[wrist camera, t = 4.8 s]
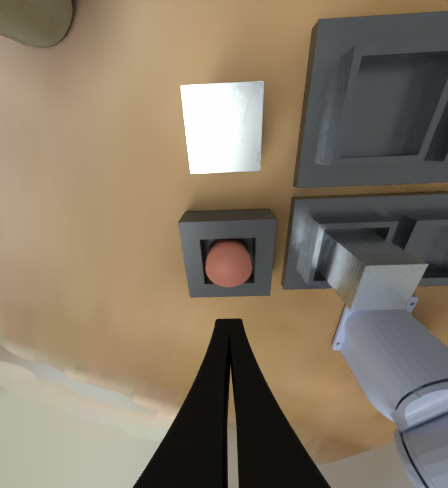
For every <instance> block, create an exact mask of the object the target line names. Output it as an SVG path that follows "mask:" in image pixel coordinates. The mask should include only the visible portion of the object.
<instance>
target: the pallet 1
mask: <svg viewBox="0 0 448 488" xmlns="http://www.w3.org/2000/svg"><path fill="white" fill-rule="evenodd" d="M437 182H448V11H441V12H425V13H410V14H394V15H378V16H363V17H347V18H331V19H319V20H318V21H317V23H316V24H315V26H314V27H313V28H312V35H311V43H310V52H309V60H308V68H307V76H306V84H305V93H304V101H303V109H302V117H301V125H300V134H299V142H298V150H297V158H296V167H295V175H294V183H293V186H294V187H296V188H310V187H336V186H361V185H386V184H412V183H437Z"/></svg>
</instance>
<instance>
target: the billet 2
mask: <svg viewBox="0 0 448 488" xmlns="http://www.w3.org/2000/svg"><path fill="white" fill-rule="evenodd" d="M428 265H429V264H428V263H426V262H424V261H422V260H421V259H419V258H417V257H415V256H414V255H412V254H410V253H408V252H407V251H405V250H403V249H401V248H399V247H398V246H396V245H394V244H392V243H391V242H389V241H387V240H385V239H384V238H382V237H380V236H378V235H377V234H375V233H373V232H371V231H369V230H368V229H352V230H324V233H323V238H322V243H321V247H320V252H319V257H318V261H317V266H316V267H317V268H318V270H319V271H320V272H321V274H322V275H323V276H324V278H325V279H326V280H327V281H328V283H329V284H330V285H331V287H332V288H333V289H334V291H335V292H336V293H337V294H338V296H339V297H340V298H341V300H342V301H343V302H344V304H345V305H346V306H347V308H348V309H349V310H350V311H354V310H401V309H405V308H406V306H407V304H408V302H409V300H410V298H411V296H412V295H413V293H414V291H415V289H416V287H417V285H418V283H419V281H420V280H421V278H422V276H423V274H424V272H425V270H426V268H427V266H428Z"/></svg>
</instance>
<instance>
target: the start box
mask: <svg viewBox="0 0 448 488" xmlns="http://www.w3.org/2000/svg"><path fill="white" fill-rule="evenodd" d="M276 223H277V219H276V217H275V216H274V215H273V213H272V212H271V210H270V209H244V210H217V211H190V212H185V213H184V214H183V216H182V217H181V219H180V220H179V222H178V225H179V231H180V238H181V244H182V250H183V256H184V263H185V269H186V275H187V281H188V288H189V294H190V297H229V296H270V289H271V278H272V267H273V256H274V245H275V234H276ZM235 238H239V239H241V240H242V241H244V242H245V244H246V245H247V247H248V250H249V255H250V259H251V264H252V272H251V275H250V277H249V278H248V279H247V280H246V281H245V282H244V283H243V284H241V285H238V286H235V287H222V286H219V285H217V284H215V283H213V282H212V281H211V280H210V279H209V278H208V276H207V274H206V270H205V267H206V260H207V255H208V250H209V247H210V245H211V244H212V242H213V241H215V240H216V239H235Z"/></svg>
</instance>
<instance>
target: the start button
mask: <svg viewBox="0 0 448 488" xmlns="http://www.w3.org/2000/svg"><path fill="white" fill-rule="evenodd" d="M205 270H206V274H207V276H208V278H209V279H210V280H211V281H212V282H213V283H215V284H217V285H219V286H222V287H235V286H238V285H241V284H243V283H244V282H245V281H246V280H247V279H248V278H249V277H250V275H251V272H252V264H251V259H250V255H249V250H248V247H247V245H246V244H245V242H244V241H242V240H241V239H239V238H235V239H216V240H215V241H213V242H212V244H211V245H210V247H209V250H208V255H207V260H206V267H205Z"/></svg>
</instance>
